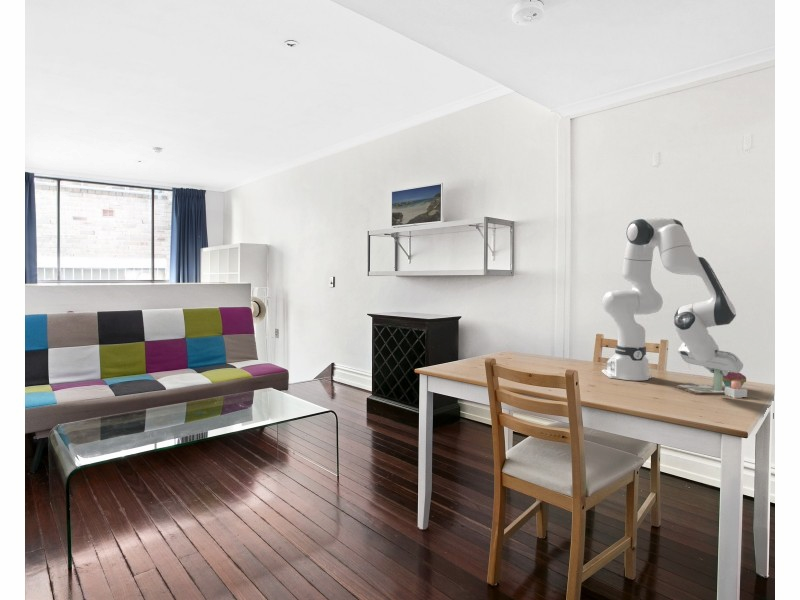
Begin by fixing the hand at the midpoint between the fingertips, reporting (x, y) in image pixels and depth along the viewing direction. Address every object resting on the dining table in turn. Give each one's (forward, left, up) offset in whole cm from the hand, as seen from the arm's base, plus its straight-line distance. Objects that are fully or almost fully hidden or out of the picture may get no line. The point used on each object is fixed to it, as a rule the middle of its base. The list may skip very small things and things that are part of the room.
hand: (719, 372), depth 181 cm
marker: (0, -1, -6) cm, 6 cm away
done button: (-1, +7, -8) cm, 11 cm away
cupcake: (-12, +14, -9) cm, 21 cm away
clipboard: (-11, +1, -9) cm, 14 cm away
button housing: (-1, +7, -9) cm, 12 cm away
